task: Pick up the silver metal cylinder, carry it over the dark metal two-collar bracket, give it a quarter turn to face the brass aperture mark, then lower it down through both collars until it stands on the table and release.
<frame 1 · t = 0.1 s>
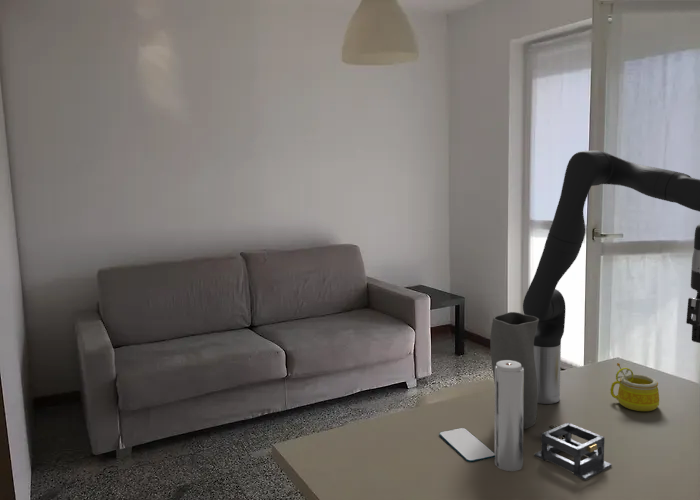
vase: (514, 426, 161), on the table
silver metal cylinder: (508, 465, 141), on the table
smartphone: (466, 447, 151), on the table
mug: (634, 405, 171), on the table
collar bracket: (572, 461, 141), on the table
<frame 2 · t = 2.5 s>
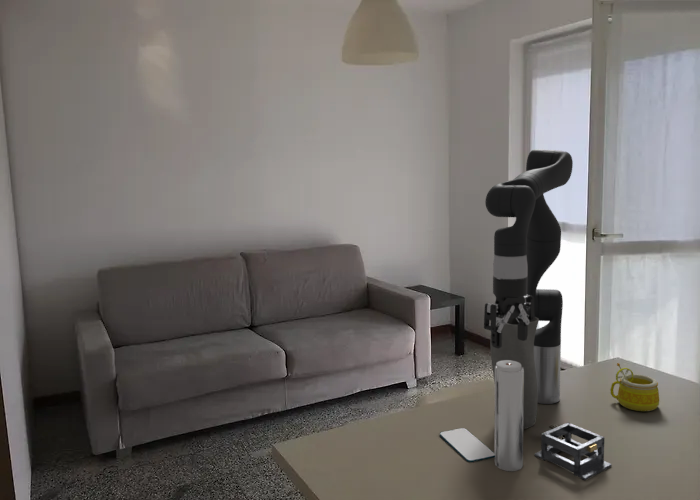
hand: (509, 343, 136), 30 cm above the table, fingers open, 8 cm apart
nothing on the table moved.
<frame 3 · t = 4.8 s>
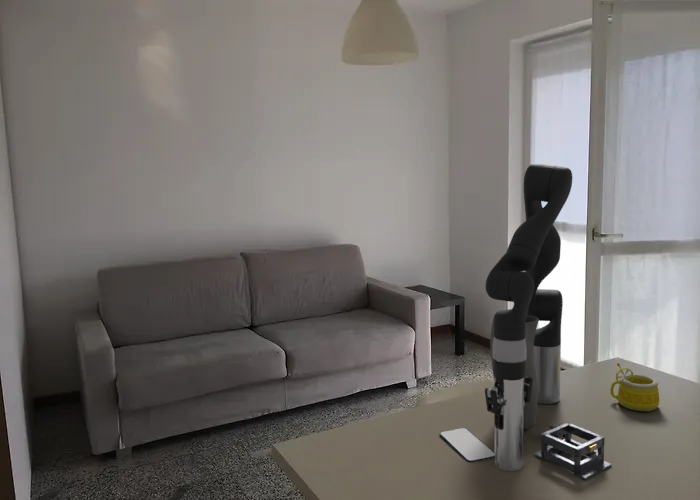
hand: (508, 424, 139), 10 cm above the table, fingers closed on silver metal cylinder, 5 cm apart
silver metal cylinder: (508, 465, 141), on the table, touching gripper
everything else where it was.
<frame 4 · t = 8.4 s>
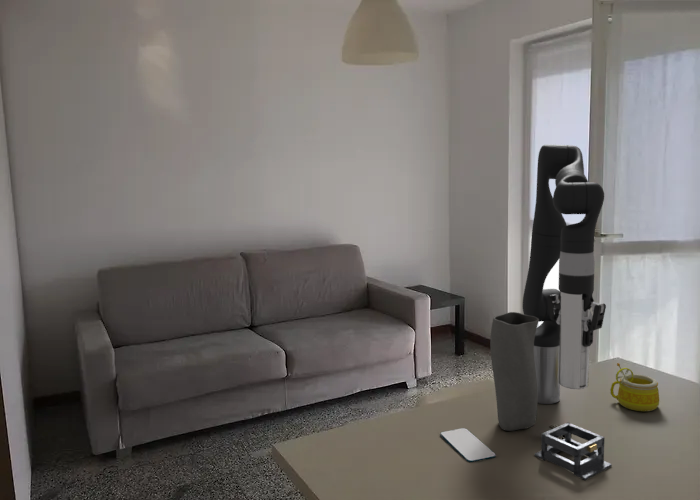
hand: (574, 342, 137), 29 cm above the table, fingers closed on silver metal cylinder, 5 cm apart
silver metal cylinder: (573, 384, 139), point 19 cm above the table, touching gripper
everything else where it was.
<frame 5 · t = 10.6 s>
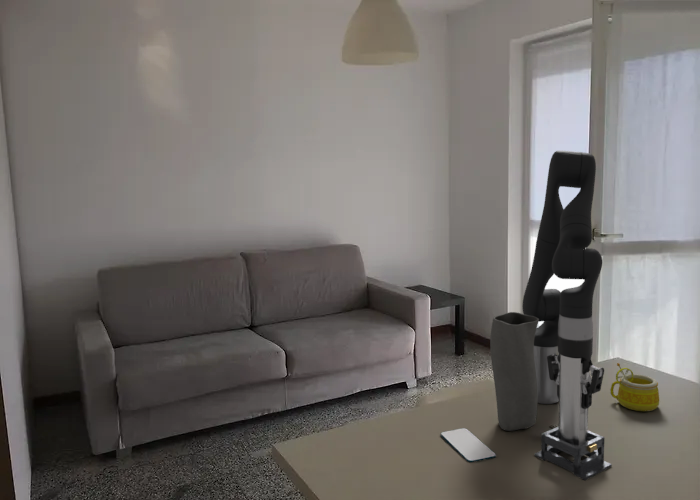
hand: (573, 403, 139), 14 cm above the table, fingers closed on silver metal cylinder, 5 cm apart
silver metal cylinder: (572, 444, 141), point 4 cm above the table, touching gripper
everything else where it was.
when the fingers open (11 cm above the table, at t = 12.2 s): silver metal cylinder stays where it is, resting in collar bracket.
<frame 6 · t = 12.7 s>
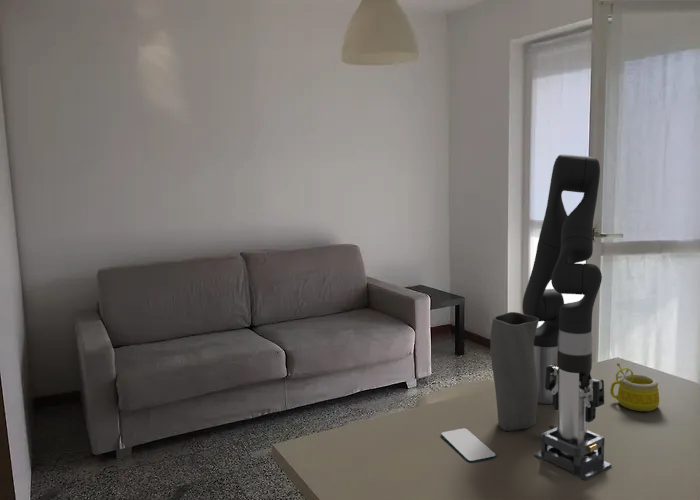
hand: (573, 415, 140), 12 cm above the table, fingers open, 8 cm apart
silver metal cylinder: (571, 461, 141), resting in collar bracket
everything else where it was.
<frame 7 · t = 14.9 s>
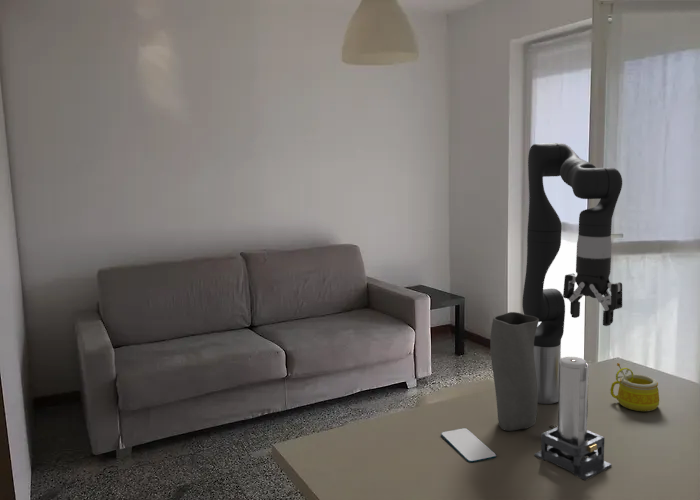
hand: (590, 321, 141), 33 cm above the table, fingers open, 8 cm apart
nothing on the table moved.
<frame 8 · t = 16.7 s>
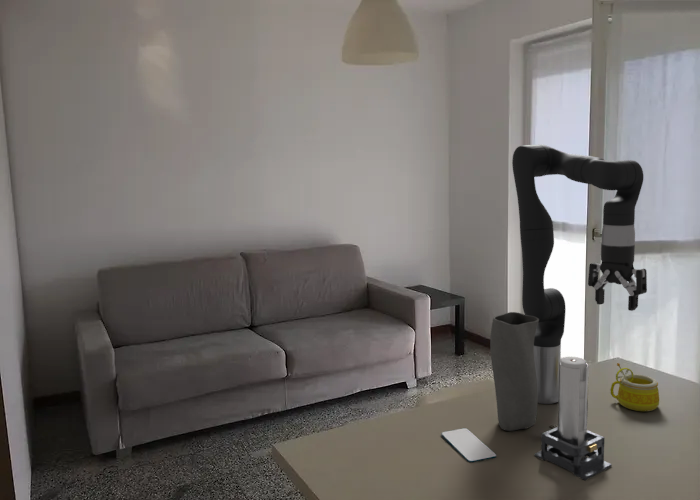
hand: (615, 306, 148), 34 cm above the table, fingers open, 8 cm apart
nothing on the table moved.
at the end: silver metal cylinder 0.2 cm off-centre on the collar bracket, point 0.0 cm above the collar bracket's base; silver metal cylinder tilted 0°; the gripper is holding nothing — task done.
